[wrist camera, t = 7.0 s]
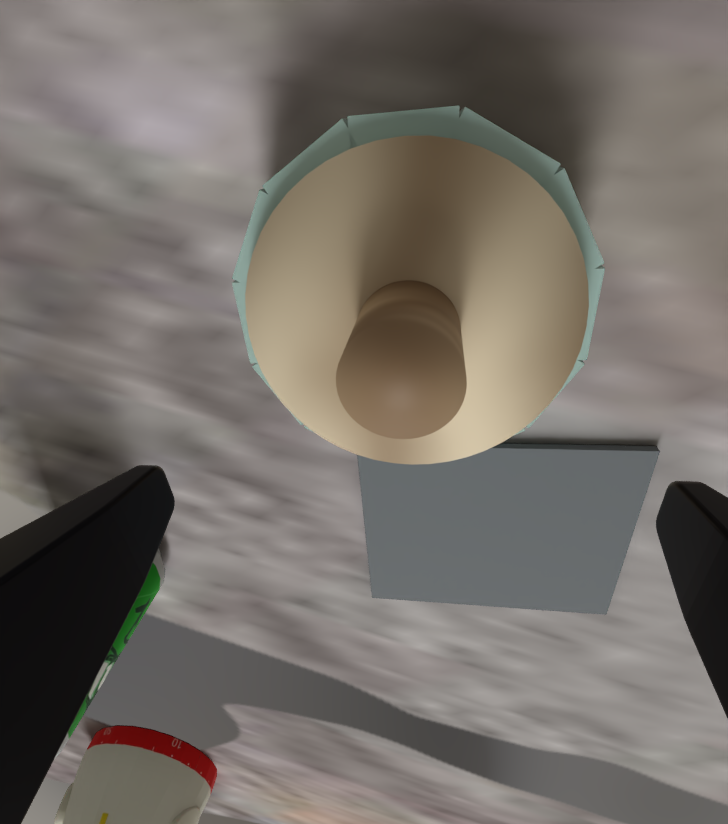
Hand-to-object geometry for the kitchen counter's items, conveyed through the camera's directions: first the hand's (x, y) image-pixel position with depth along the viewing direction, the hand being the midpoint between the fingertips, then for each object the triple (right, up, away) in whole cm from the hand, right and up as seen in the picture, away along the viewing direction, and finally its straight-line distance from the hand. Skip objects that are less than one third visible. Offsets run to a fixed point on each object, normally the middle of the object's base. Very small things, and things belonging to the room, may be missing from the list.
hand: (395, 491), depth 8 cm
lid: (+1, +4, +7) cm, 8 cm away
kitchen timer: (-23, -36, +42) cm, 60 cm away
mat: (+6, -5, +17) cm, 19 cm away
